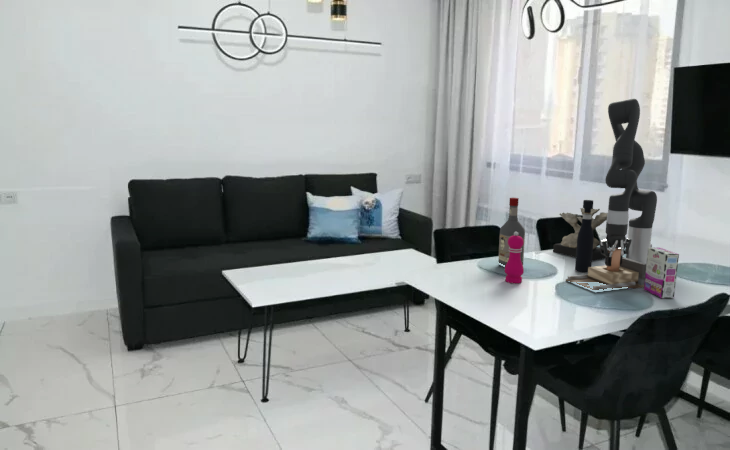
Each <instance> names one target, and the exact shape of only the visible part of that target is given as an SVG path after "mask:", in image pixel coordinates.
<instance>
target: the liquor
mask: <svg viewBox="0 0 730 450" xmlns="http://www.w3.org/2000/svg"><path fill="white" fill-rule="evenodd" d="M508 202H509V209H508V211H509V212H508V218H507V221H506V222H505V223H504V224H502V226H501V227H500V229H499V238H498V239H499V241H498V242H499V244H498V262H499V263H501V264H503V265H505V266H506V264H507V262H508V260H509V255H510V251H509V247H510V246H509V245H508V239H509V237H511V236H513V235H514V232H518V236H520V237H522V238H523V241H524V244H523V246H522V247H521V248H522V252H521V254H520V258H521V262H522V265H523V266H524V260H525V259H524V257H525V256H524V255H525V242H526V241H525V239H526V230H525V227H524V226H523V225H522V224H521V222H520V221H519V218H518V213H519V211H518V210H519V209H518V208H519V198H518V197H509V201H508Z"/></svg>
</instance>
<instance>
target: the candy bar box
mask: <svg viewBox="0 0 730 450" xmlns="http://www.w3.org/2000/svg"><path fill="white" fill-rule="evenodd" d="M679 258H680V254H679V253H677V252H673V251H671V250H667V249H665V248H663V247H652V248H648V256H647V265H646V275H645V284H644V287H643V290H644V291H645V292H647V293H650V294H652V295H654V296H655V297H658V298H660V299H666V300H667V299H670V300H671V299H675V291H676V283H677V276H678V275H677V274H678V265H679Z"/></svg>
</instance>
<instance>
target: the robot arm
mask: <svg viewBox="0 0 730 450" xmlns="http://www.w3.org/2000/svg"><path fill="white" fill-rule="evenodd" d="M607 106H608V107H607V113H608V119H609V121H610V126H611V129H612V131H613V136H614V139H615V142H614V145H613V147H612V157H611V164H610V167H609V168H608V171H607V173H606V176H605V179H604V180H605V181H604V182H605V183H606V186H607V187H608V188H611V189H624V190H623V192H621V193H614V194H611V195H610V196H609V198H608V206H607V207H608V208H607V212H606V213H607V220H606V221H605V222H606V223H605V233H606V236H605V238H604V239H603V240H602V239H600V240H598V241H599V247H600V251H601V254H602V255H605V260H604V265H606V266H611V261H612V257H611V256H612V253H613V252H614V250H615V249H619V250H621V256H620V265H621V264H622V258H623V257H624V256H625V258H628V259H631V260H635V261H638V262H641V263H645V264H647V256H648V248H653V244H651V243H652V234H653V233H652V232H653V225H654V221H655V216H656V209H657V203H658V196H657V193H656V192H655V191H653V190H646V189H639V187H638V178H639V177H640V175H641V173H642V172H643V169H644V168H645V164H646V163H645V155H644V151H643V148H642V146H641V145H640V143H638V142H637V141H636V140H635V139H636V135H637V131H638V127H639V121H640V117H641V106H640V104H639V101H638V99H637V98H627V99H623V100H618V101H617V100H616V101H613V102H610V103H608V105H607ZM623 124H627V126H626V127H625V128H624V126H623ZM629 210H632V211H637V212H641V215H640V216H638V217H633V218H631V219H629V217H630V216H629V215H630V214H629ZM626 235H627V237H626ZM610 248H611V249H610ZM609 250H610V252H609Z"/></svg>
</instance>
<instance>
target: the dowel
mask: <svg viewBox="0 0 730 450" xmlns="http://www.w3.org/2000/svg"><path fill="white" fill-rule="evenodd" d="M609 248H610V247H609ZM610 249H611V248H610ZM609 252H610V250H609ZM620 256H621V250H619V249H615V250H614V252H613V253H612V256H611V257H612V261H611V266H607V270H609V271H619V267H620Z"/></svg>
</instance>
